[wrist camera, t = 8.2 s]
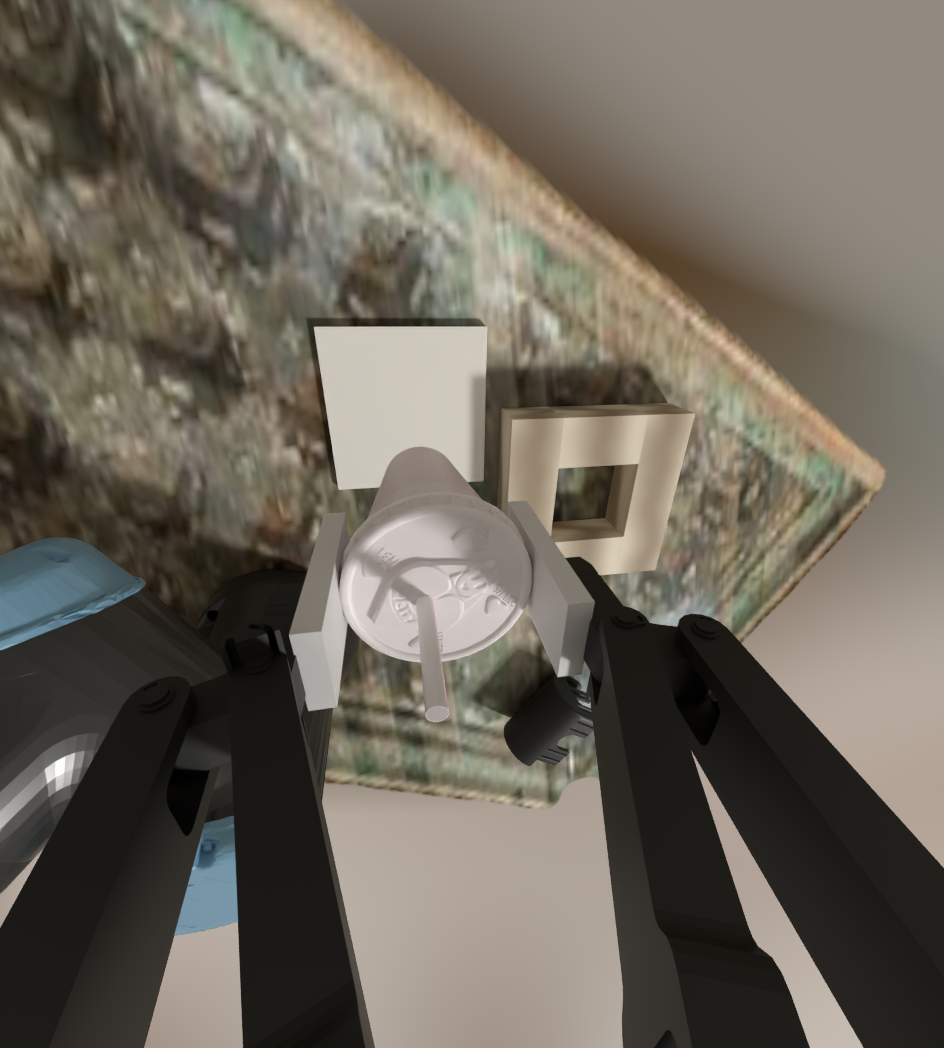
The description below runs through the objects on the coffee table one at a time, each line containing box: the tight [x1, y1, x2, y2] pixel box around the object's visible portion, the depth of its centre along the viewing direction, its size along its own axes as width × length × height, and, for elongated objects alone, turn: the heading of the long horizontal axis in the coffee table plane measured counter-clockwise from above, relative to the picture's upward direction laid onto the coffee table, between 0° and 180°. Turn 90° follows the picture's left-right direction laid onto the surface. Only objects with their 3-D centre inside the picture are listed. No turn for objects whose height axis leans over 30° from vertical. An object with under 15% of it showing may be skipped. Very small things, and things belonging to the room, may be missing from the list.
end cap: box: [504, 674, 594, 766], centre depth 53 cm, size 10×7×7 cm
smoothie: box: [339, 447, 532, 722], centre depth 16 cm, size 6×6×14 cm
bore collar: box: [497, 403, 695, 575], centre depth 40 cm, size 16×16×4 cm
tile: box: [314, 326, 487, 490], centre depth 35 cm, size 13×13×1 cm
